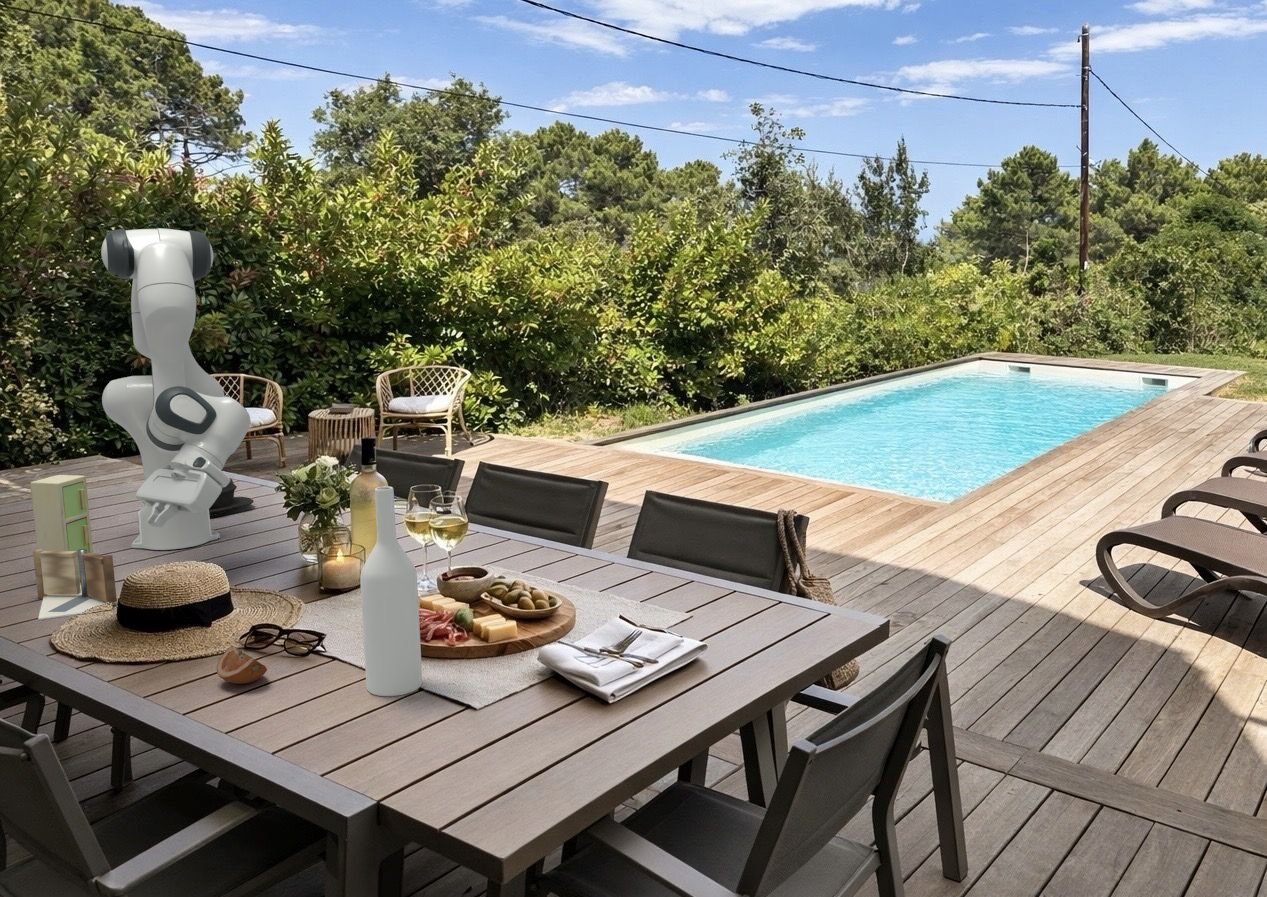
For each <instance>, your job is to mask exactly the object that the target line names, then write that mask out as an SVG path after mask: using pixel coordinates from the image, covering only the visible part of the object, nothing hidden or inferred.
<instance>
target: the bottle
mask: <svg viewBox="0 0 1267 897" xmlns="http://www.w3.org/2000/svg"><path fill="white" fill-rule="evenodd" d="M394 492H395V491H394V487H393V486H385V485H384V486H378V487H375V489H374V499H375V501H374V502H375V518H376V519H375V520H376V521H375V522H376V524H375V525H376V542H375V544H374V546H373V549H372V550H371V552H370V554H369V555H368V558H367V560H365V563H364V564H363V567H362V569H361V571H360V577H359V579H360V580H359V581H360V582H359V583H360V600H361V614H362V615H361V616H362V617H361V618H362V630H363V631H362V632H363V633H362V634H363V647H364V648H363V649H364V650H363V652H364V665H365V666H364V667H365V685H366V689H367V691H368V693H370V694H372V695H375V696H377V697H378V696H379V697H396V696H403V695H404V696H405V695H406V694H407V695H408V694H410V693H413V692H416V691H417V690H419V689H420V687H421V686H422V684H423V672H422V670H423V669H422V652H421V651H422V650H421V630H420V628H421V627H420V611H419V609H420V608H419V607H420V606H419V590H418V588H419V587H418V574H417V568H416V566H415V565H414V563H413V561H412V560H411V558H410V557H409V556H408V554H407V553H406V551H405V550H404V548H403V547H402V546H401V544H400V543H399V540H398V539H397V531H396V530H397V528H396V513H395V511H396V510H395V493H394Z"/></svg>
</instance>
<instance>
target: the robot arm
mask: <svg viewBox="0 0 1267 897" xmlns="http://www.w3.org/2000/svg"><path fill="white" fill-rule="evenodd" d="M101 245H102V246H101V248H100V249H101V252H100V253H101V259H102V263H103V264H104V267H105V268H106V272H108V273H109V274H110V276H113V277H115V278H118V279H124V280H128V279H132V285H131V296H130V298H131V299H130V300H131V301H130V303H131V304H130V309H131V322H132V324H131V325H132V339H133V346H134V348H135V349H136V351H138V353H139V354H140V355H143V356H144V357H146V358H148V359H150V364H151V375H131V376H127V377H126V376H125V377H121V378H117V379H112V380H110V381H109V383H107V385H106V386H105V387H104V389H103V392H102V396H101V403H102V408H103V410H104V412H105V414H106V415H107V416H108V418H109V419H110V420H112V421H113V422H114V423H116V424H118V425H119V426H121V427H122V428H123V429H124V430H125V431H126V433H128V434H129V435H130V436H131V438H132V439H133V440H134V442H135V444H136V445H137V448H138V450H139V454H140V458H141V462H142V468H143V477H144V481H143V483H142V485H141V486H139V488H138V489H137V491H136V492H135V498H136V499H138V500H139V502H141V503H142V504H144V505H143V506H142V507H141V508H140V510H138V514H137V524H138V525H139V526H138V533H139V534H138V536H137V537H135V539H134V540H133V541H132V543H131V548H132V549H146V550H152V551H153V550H154V551H159V550H160V551H168V550H179V549H187V548H191V547H196V546H201V545H203V544H207V543H208V542H210V541H211V542H212V541H215V540H219V539H221V534H220V533H219V532H218V531H216V530H215V529H212V526H211V518H210V517H211V516H209V508H210V507H211V506H212V505H213V503H214V502H215V501H216V499H217V498H218V496H219V495H220V493H221V491H222V487H226V486H227V485H228V484H229V482H230V477H228V475H227V474H226V473H224V471H222V470H223V469H224V467H225V464H226V462H227V460H228V458H229V457H231V456H232V455H233V454H234V453H235V452H236V451H237V449H238V448H239V447H240V445H241V444H242V442H243V440H244V438H246V435H247V433H248V432H249V430H250V427H251V416H250V413H249V412H248V411H247V409H246V408H245V406H244V405H243V404H241V402H239V401H238V400H236V399H234V398H232V397H230V396H225V391H224V390H223V386H222V385H221V384H220V383H219V380H217V379H216V378H215V377H213V376H212V375H210V374H209V373H208V372H206V371H205V370H204V369H203V368H202V367H201V366H200V365H199V363H198V362H197V361H196V359H195V357H194V355H193V353H192V351H191V348H190V343H189V341H190V338H191V335H192V333H193V330H194V326H195V321H196V315H197V295H196V288H195V287H196V286H195V282H197V281H199V280H201V279H203V278H205V277H206V276H207V275H208V274H209V273H211V268H212V266H213V262H214V250H213V247H212V245H211V243H210V240H209V238H208V237H207V235H205V233H202V232H200V231H195V230H188V231H186V230H180V229H172V228H171V229H170V228H160V227H159V228H158V227H157V228H141V229H128V230H127V229H125V228H120V229H114V230H110V231H109V232H108V233H106V235H104V240H103V241H102V244H101ZM218 538H219V539H218Z"/></svg>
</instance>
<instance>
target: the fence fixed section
mask: <svg viewBox="0 0 1267 897" xmlns="http://www.w3.org/2000/svg"><path fill="white" fill-rule="evenodd" d="M86 553H87V549H79V550H77V551H42V549H37V548H34V549H32V556H33V563H34V565H33V566H34V572H35V573H34V574H35V583H36V591H37V599H39V598H42V599H43V597H45V596H47V594H61V595H78V594H80V593H81V590H82V597H90V596H88V594H87V584H86V574H85V564H84V560H82V554H86ZM77 556H78V559H77ZM78 561H79V569H78ZM79 571H80V579H79ZM80 584H81V588H80Z"/></svg>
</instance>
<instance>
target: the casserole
mask: <svg viewBox="0 0 1267 897" xmlns="http://www.w3.org/2000/svg"><path fill="white" fill-rule="evenodd" d="M229 478H230V477H229ZM236 489H237V485H236V484H235V483H234V481H233V479H232V478H230V482H229V484H228V485H227V486H226V487H222V491H221V493H220V495H219V496H218V498H217V499H216V501H215V502H214V503H213V505H212V506H211V507H210V508H209V515H213V516H216V515H215V514H218V515H221V514H224V513H227V512H229V511H230V510H232V509H237V508H241V507H246V506H249V505H252V504H253V503H254V499H252V498H251V497H247V496H235V490H236ZM229 509H230V510H229ZM226 511H227V512H226ZM220 513H221V514H220Z"/></svg>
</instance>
